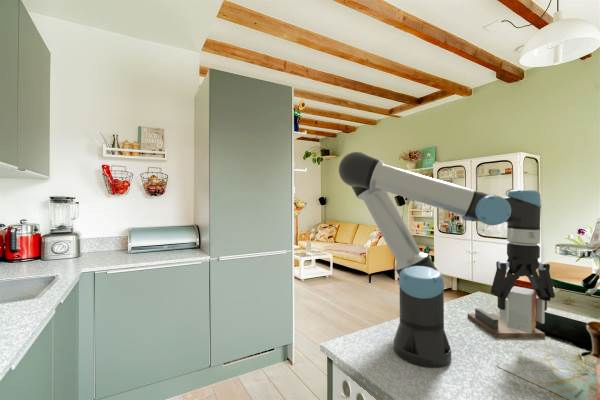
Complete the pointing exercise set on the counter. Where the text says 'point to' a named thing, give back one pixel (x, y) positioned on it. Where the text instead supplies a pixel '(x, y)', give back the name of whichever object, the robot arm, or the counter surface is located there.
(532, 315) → the small box
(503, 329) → the mounting plate
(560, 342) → the counter surface
